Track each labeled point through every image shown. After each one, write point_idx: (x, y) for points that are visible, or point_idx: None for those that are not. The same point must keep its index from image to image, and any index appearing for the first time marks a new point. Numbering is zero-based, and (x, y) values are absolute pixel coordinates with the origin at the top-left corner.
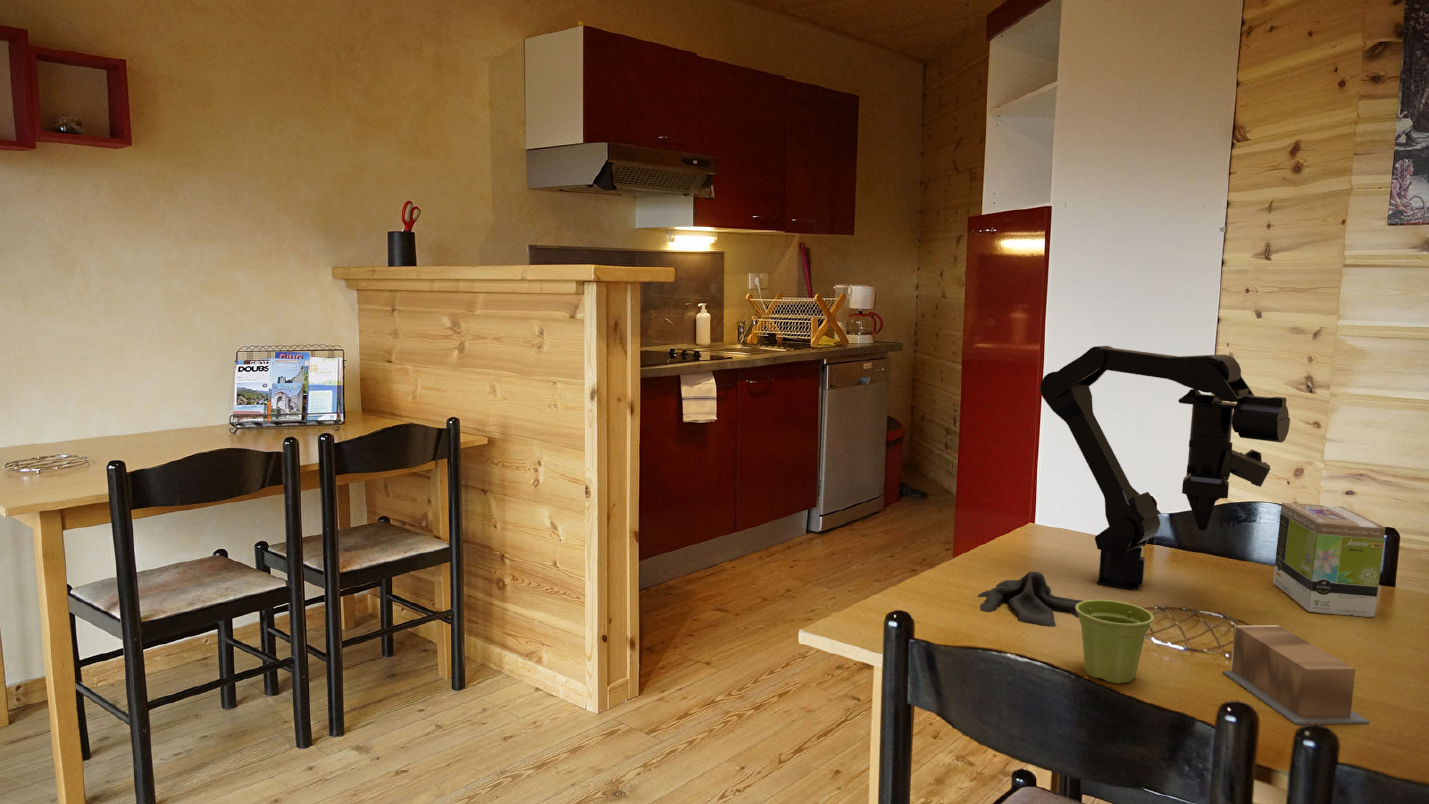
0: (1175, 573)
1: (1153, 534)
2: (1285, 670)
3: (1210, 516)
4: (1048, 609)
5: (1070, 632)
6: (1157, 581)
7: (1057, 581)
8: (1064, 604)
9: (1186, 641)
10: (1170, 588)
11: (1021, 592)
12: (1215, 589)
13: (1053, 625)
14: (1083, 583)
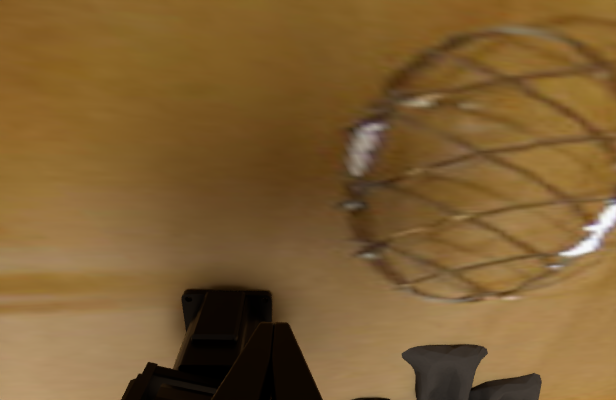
0: (52, 226)
1: (186, 397)
2: None
3: (320, 396)
4: (498, 398)
5: (562, 355)
6: (162, 259)
7: None
8: (471, 386)
9: (578, 199)
10: (203, 233)
11: None
12: (132, 133)
13: (538, 376)
14: None
